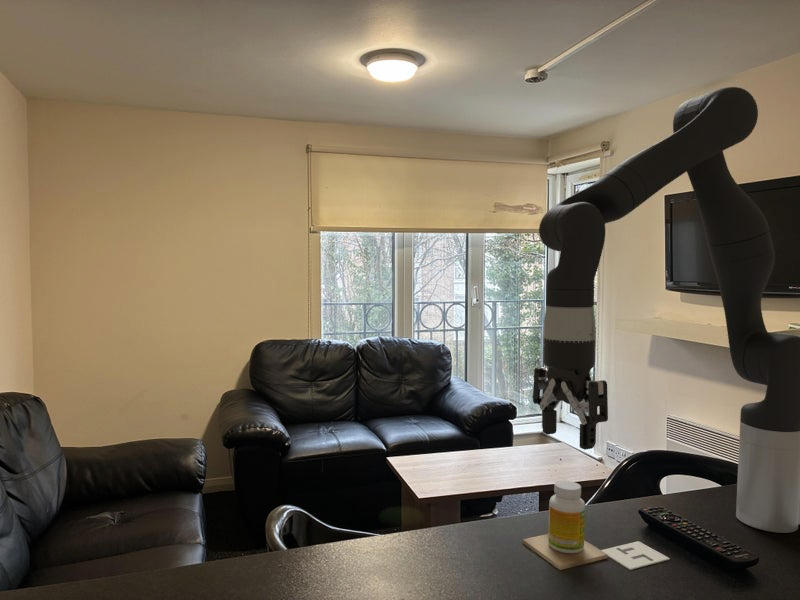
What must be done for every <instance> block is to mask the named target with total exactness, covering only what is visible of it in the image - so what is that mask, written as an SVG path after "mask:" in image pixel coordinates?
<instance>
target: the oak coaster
mask: <svg viewBox="0 0 800 600" xmlns="http://www.w3.org/2000/svg"><path fill="white" fill-rule="evenodd" d="M522 544H523V545H525V546H526V547H527V548H528V549H530V550H531V551H533V552H534V553H536V554H537V555H538V556H540V557H541V558H542V559H544V560H545V561H547V562H548V563H550V564H551V565H552V566H553V567H555V568H556V569H558V570H559V571H561V570H562V571H563V570H565V569H570V568H574V567H577V566H581V565H586V564H590V563H594V562H598V561H601V560H606V559H608V556H607V554H606V553H604V552H603V551H601V550H602V549H599V548H598V547H597V546H594V545H593V544H591V543H590V542H588V541H586V540H585V539H584V548H583V550H582V551H581V552H578V553H562V552H559V551H556V550H555V549H553V548H552V547H551V546H550V545H549V543H548V533H545V534H542V535H538V536H532V537H528V538H523V539H522Z"/></svg>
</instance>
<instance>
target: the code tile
mask: <svg viewBox="0 0 800 600" xmlns="http://www.w3.org/2000/svg"><path fill="white" fill-rule="evenodd" d="M600 550H601V551H603V552H604V553H606V554H607V558H609V559H611V560H613V561H614V562H616V563H618V564H619V565H620V566H623V567H624V568H626V569H627V570H629V571H632V570H635V569H638V568H643V567H646V566H650V565H654V564H655V565H656V564H658V563H662V562H665V561H669V560H670V557H668V556H667V555H665V554H663V553H661V552H659V551H657V550H655V549H654V548H651V547H649V546H648V545H646V544H644V543H643V542H641V541H634V542H629V543H626V544H621V545H617V546H613V547H609V548H604V549H600Z"/></svg>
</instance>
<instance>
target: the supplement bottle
mask: <svg viewBox="0 0 800 600" xmlns="http://www.w3.org/2000/svg"><path fill="white" fill-rule="evenodd" d="M553 491H554V494H553V495H552V496H550V499H549V505H548V533H547V534H548V543H549V545H550V546H551V547H552V548H553V549H555V550H556V551H559V552H562V553H578V552H581V551H582V550H583V548H584V540H585V530H586V529H585V523H586V522H585V521H586V503H585V501H584V500H583V499H582V498H581V496H582V486H581V485H580V484H579V483H577V482H576V481H575V482H574V481H571V480H558V481H555V482H554V486H553Z"/></svg>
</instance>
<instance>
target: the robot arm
mask: <svg viewBox="0 0 800 600" xmlns="http://www.w3.org/2000/svg"><path fill="white" fill-rule="evenodd" d="M758 118H759V107H758V104H757V102H756V100H755V98H754V96H753V95H752V94H751V93H750V92H749V91H747V90H746V89H744V88H742V87H737V86H729V87H723V88H722V87H721V88H718V89H715V90H711V91H709V92H707V93H703V94H701V95H697V96H696V97H695V96H694V97H692V98H690V99H688V100H685V101H684V102H683V103H681V104H680V105H678V108H677V109H676V110H675V112H674V115H673V120H672V131H673V133H672V134H670V135H669V136H667V137H664V139H662V140H659V141H658V142H655V144H652V145H650V146H649V147H648V146H647V147H646V148H645V149H643V150H640V151H639V152H636V154H632V155H631V156H629V157H627V159H624V160H623V161H622V162H620V163H619V164H617V165H615V167H613V168H612V169H610V170H609V171H608V172H606V173H605V174H604V175H602V176H601V177H599V178H598V179H597V180H596V181H595V182H594V183H592V184H591V185H588V187H586V188H583V189H582V190H580V191H578V192H576V193H575V194H572V195H571V196H569V197H567V198H565V199H564V200H562V201H560V202H558V203H557V204H555V205H554V206H552V207H551V208H549V210H547V212H545V214H544V215H543V217H542V218H541V220H540V223H539V226H538V227H539V228H538V235H539V238H540V241H542V243H543V244H544V245H545V247H547V248H548V249H549V250H553V251H555V252H560V254H559V260H558V264H557V265H556V267H554V268H552V269H551V270H550V271H549V272H548V273H547V275H546V286H545V287H546V289H545V290H546V291H545V313H544V317H543V318H544V320H543V360H542V361H543V365H544V366H541V367H535V368H534V370H533V371H534V372H533V373H534V374H533V390H532V402H533V404H534V405H538V406H539V409H540V410H541V427H542V433H543V434H545V435H555V434H557V433H556V432H557V426H558V425H557V423H558V422H557V421H558V419H557V415H558V414H557V413H558V411H557V410H556V408H557V407H558V405H559V404H560V402H564V403H565V404H568V405H569V406H570V407H571V409H572V410H573V411H574V412H576V414H577V417H578V419H579V421H580V424H579V448H580V449H583V450H591V449H594V447H595V445H596V443H597V425H598V423H605V422H607V421H608V420H609V407H608V405H609V404H608V402H609V401H608V400H609V399H608V398H609V397H608V382H607V381H606V380H605V379H603V380H592V378H591V374H590V373H591V370H592V369H593V368H594V367H595V360H596V359H595V356H596V353H595V352H596V314H595V307H594V306H595V279H596V275H597V271H598V269H599V266H600V261H601V257H602V253H603V250H604V244H605V241H606V224H608V223H612V222H616V221H618V220H620V219H622V218H624V217H626V216H627V215H629V214H630V213H631V212H633V211H634V210H635V209H636V208H638V207H639V206H640V205H642V204H643V203H645V202H646V201H647V200H649V199H650V198H651V197H652V196H654V195H655V194H656V193H658V192H659V191H660V190H662V189H663V188H664V187H667V185H668V184H670V183H672V182H673V181H675V180H676V179H678V178H679V177H681V176H683V174H685V173H687V176H688V178H689V181H690V184H691V186H692V187H691V188H692V190H693V193H694V196H695V200H696V202H697V208H698V210H699V214H700V217H701V221H702V224H703V229H704V233H705V238H706V243H707V247H708V250H709V256H710V258H711V262H712V266H713V268H714V273H715V276H716V281H717V283H718V289H719V293H720V297H721V302H722V306H723V311H724V316H725V324H726V331H727V340H728V344H729V345H728V347H729V353H730V359H731V362H732V366H733V368H734V370H735V372H736V373H737V374H738V376H740V378H741V379H743V380H745V381H748V382H750V383H754V384H760V385H764V386H766V391H765V395H764V396H765V397H764V399H762V400H760V401H758V402H757V401H756V402H750V403H749V402H748V403H745V404H744V405H743V406H742V407H741V408H740V420H739V421H740V422H739V438H738V439H739V441H738V462H737V465H738V466H737V482H736V488H737V489H736V506H735V508H736V509H735V511H736V512H735V517H736V519H738V520H739V521H740V522H741V523H743V524H745V525H747V526H750V527H751V528H754V529H758V530H762V531H766V532H771V533H779V534H780V533H781V534H788V533H789V534H790V533H793V532H796V531H798V529H799V525H800V336H798V335H793V334H787V333H777V332H768V330H767V328H766V325H765V321H764V317H763V311H762V297H763V294H764V292H765V289H766V287H767V284H768V282H769V280H770V277H771V274H772V272H773V270H774V266H775V260H776V253H775V247H774V243H773V239H772V238H773V237H772V235H771V231H770V227H769V223H768V221H767V218H766V216H765V214H764V213H763V212H762V210H761V209H760V207H759V206H758V205H757V204H756V202H754V200H753V199H752V198H750V196H749V195H748V194H747V193H746V192H745V191H744V190H743V189H742V188H741V187H740V185H739V184H738V183H737V182H736V180H735V179H734V178H733V176H732V174H731V172H730V170H729V168H728V164H727V161H726V157H725V155H724V151H725V150H728V149H729V148H732V147H733V146H735V145H738V144H739V143H742V142H743V141H744V140H746V139H747V138H748V137H750V135H751V134H752V132H753V131H754V129H755V127H756V125H757V122H758ZM541 391H542V395H541ZM583 400H584V401H583ZM582 401H583V402H582ZM598 409H599V412H598ZM586 412H587V414H588V415H587V414H586Z"/></svg>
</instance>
